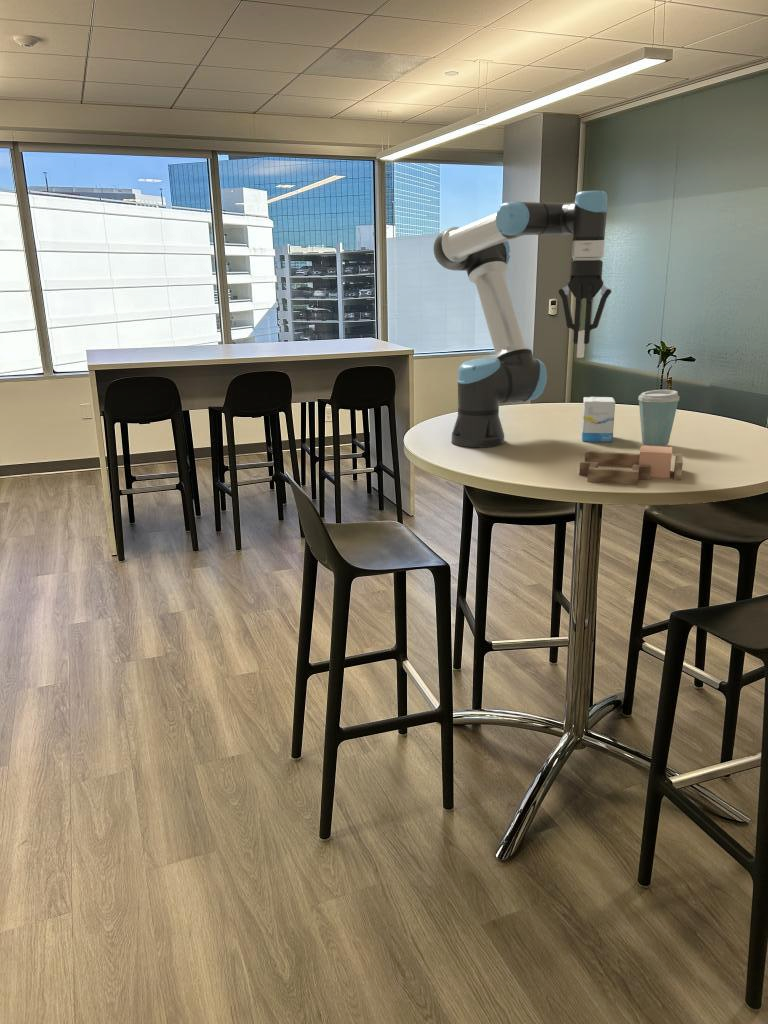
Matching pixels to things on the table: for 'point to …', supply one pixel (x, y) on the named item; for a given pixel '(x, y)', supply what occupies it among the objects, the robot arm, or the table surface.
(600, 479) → the open wooden frame
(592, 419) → the ink box
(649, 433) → the disposable coffee cup
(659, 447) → the block
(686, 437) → the table surface
